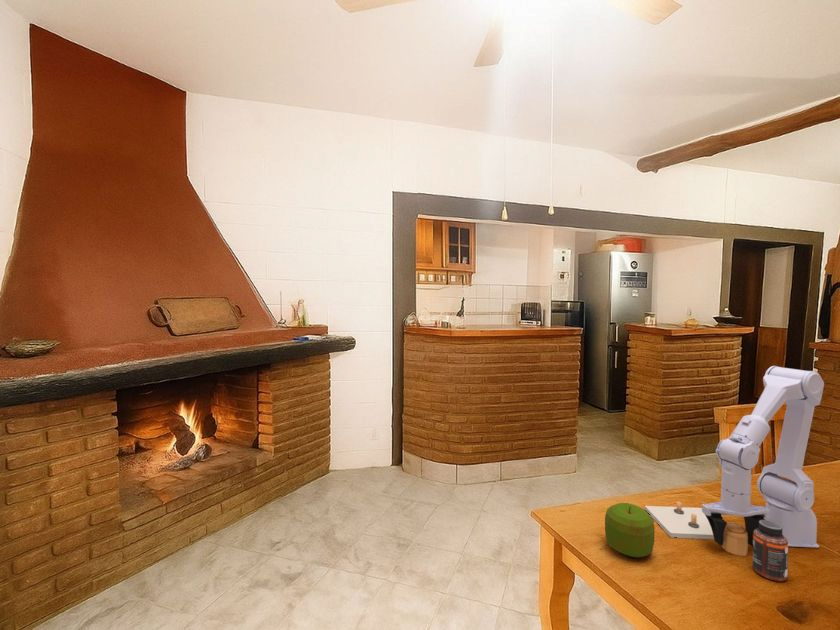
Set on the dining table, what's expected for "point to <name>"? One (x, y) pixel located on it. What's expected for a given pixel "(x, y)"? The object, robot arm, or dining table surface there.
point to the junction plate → (682, 521)
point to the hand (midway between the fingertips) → (734, 543)
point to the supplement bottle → (770, 551)
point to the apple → (629, 530)
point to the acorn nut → (735, 539)
